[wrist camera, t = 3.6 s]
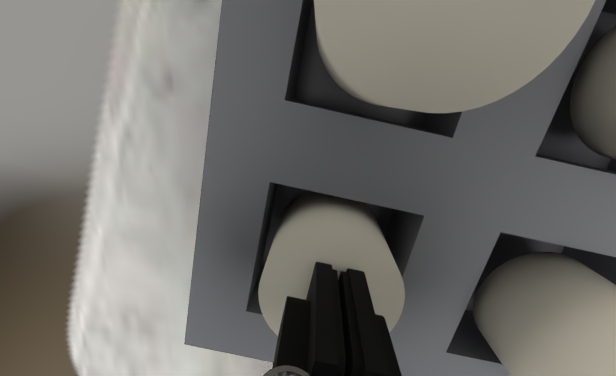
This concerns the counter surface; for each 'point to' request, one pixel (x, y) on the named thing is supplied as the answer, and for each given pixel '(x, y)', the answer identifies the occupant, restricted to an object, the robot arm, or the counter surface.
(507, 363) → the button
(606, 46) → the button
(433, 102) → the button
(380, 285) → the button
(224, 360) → the counter surface
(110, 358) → the counter surface
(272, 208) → the board
